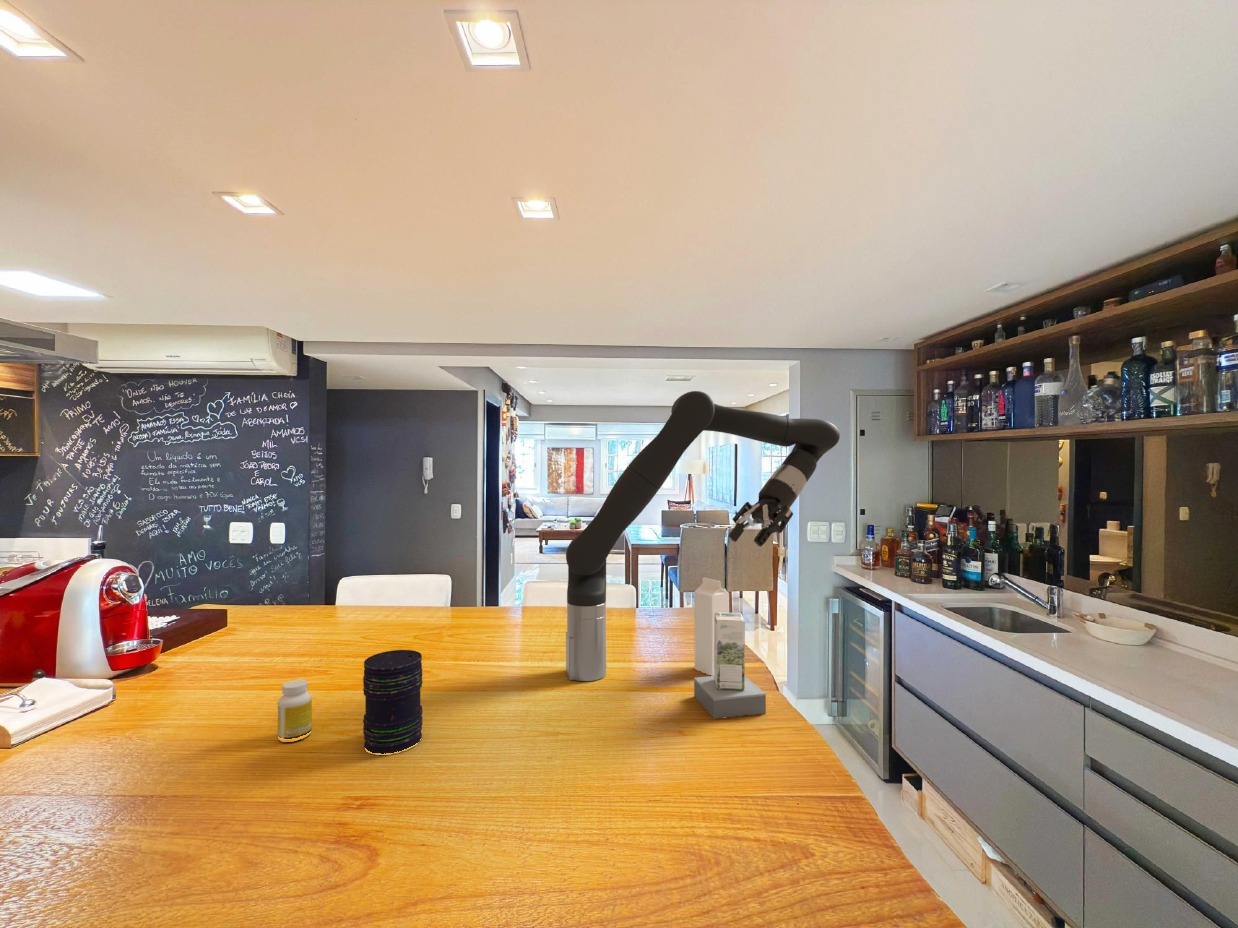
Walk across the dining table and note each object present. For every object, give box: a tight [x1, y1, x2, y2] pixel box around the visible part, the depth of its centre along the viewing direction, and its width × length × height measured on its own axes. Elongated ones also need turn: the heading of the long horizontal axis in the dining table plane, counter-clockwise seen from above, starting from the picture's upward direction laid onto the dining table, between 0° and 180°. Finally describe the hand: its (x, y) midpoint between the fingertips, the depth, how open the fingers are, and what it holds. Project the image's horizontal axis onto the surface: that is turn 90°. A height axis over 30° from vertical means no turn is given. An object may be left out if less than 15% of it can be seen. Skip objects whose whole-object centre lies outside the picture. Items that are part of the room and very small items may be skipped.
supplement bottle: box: [277, 679, 313, 739], centre depth 101 cm, size 5×5×10 cm
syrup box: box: [714, 612, 746, 690], centre depth 115 cm, size 6×6×14 cm
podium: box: [693, 675, 767, 720], centre depth 114 cm, size 11×11×4 cm
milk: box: [693, 577, 730, 676], centre depth 134 cm, size 6×6×22 cm
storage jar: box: [362, 649, 424, 754], centre depth 99 cm, size 10×10×15 cm
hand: (744, 541), depth 123 cm, fingers open, 8 cm apart
